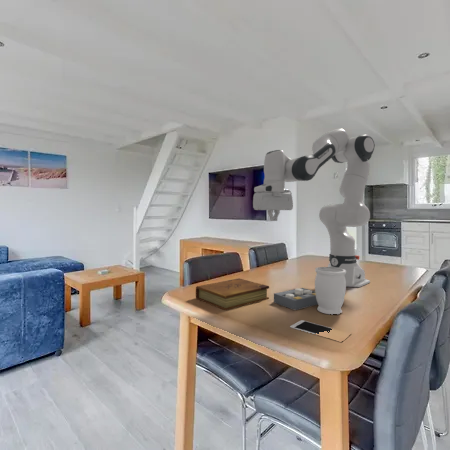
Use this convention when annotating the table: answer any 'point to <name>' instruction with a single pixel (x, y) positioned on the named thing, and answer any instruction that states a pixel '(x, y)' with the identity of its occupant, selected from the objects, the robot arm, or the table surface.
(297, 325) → the cell phone
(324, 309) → the jar
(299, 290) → the button mid
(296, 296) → the board
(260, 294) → the diary
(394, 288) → the table surface
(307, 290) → the button
